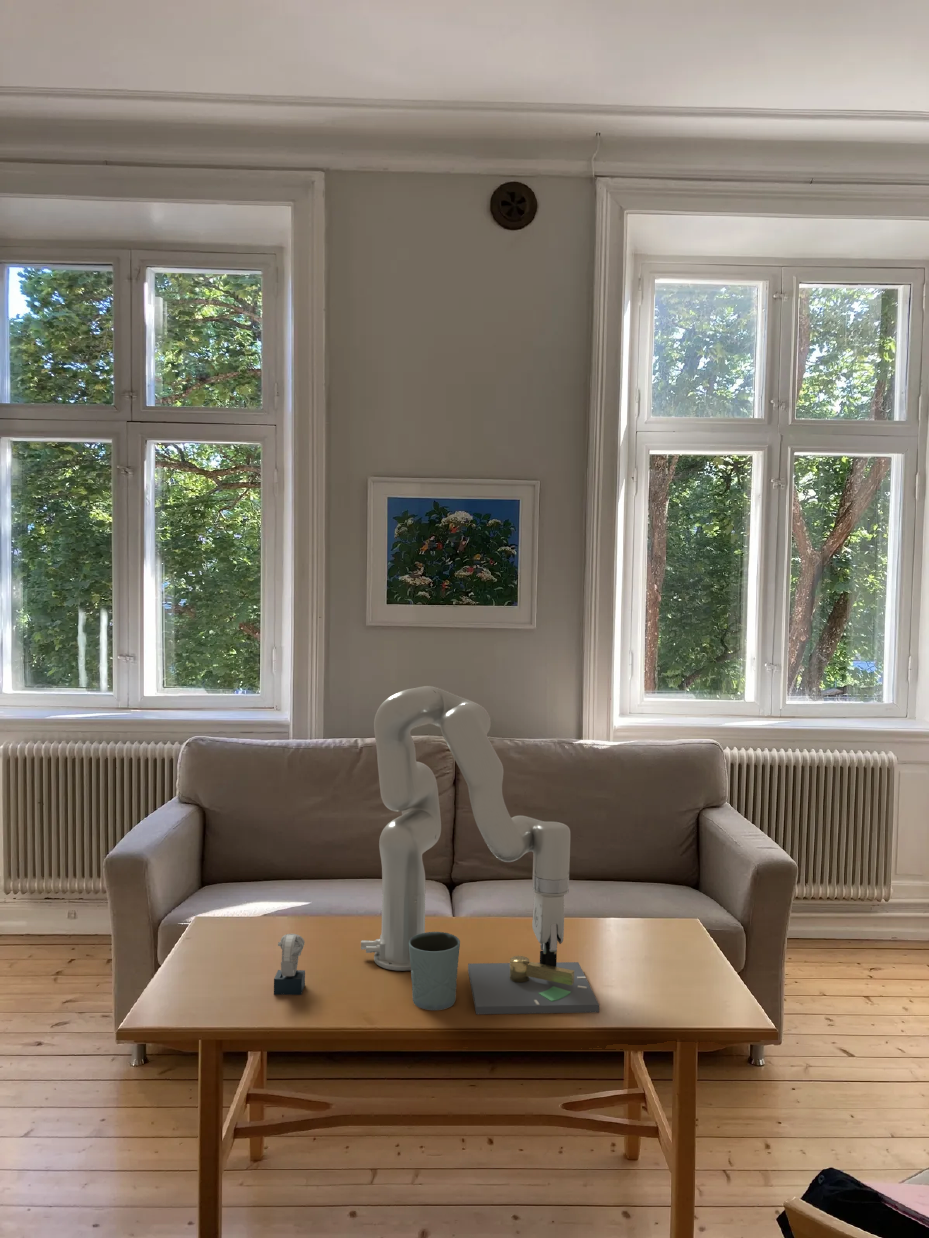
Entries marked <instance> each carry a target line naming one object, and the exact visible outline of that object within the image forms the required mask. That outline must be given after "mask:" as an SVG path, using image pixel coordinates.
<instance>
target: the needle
mask: <svg viewBox="0 0 929 1238" xmlns="http://www.w3.org/2000/svg"><path fill="white" fill-rule="evenodd" d="M509 963H510V979H511V980H512V981H515V982H526V981H528V980H529V977H534V978H539V979H544V980H548V981H553V982H558V983H563V984H568V985H572V984H573V983H574V970H569V969H564V968H559V967H554V966H549V965H544V964H539V963H540V962H533V961H530V958H528V957H526V956H523V955H513V956H512V957H510V958H509Z"/></svg>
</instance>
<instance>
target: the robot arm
mask: <svg viewBox="0 0 929 1238" xmlns="http://www.w3.org/2000/svg"><path fill="white" fill-rule="evenodd" d="M491 721H492V720H491V716H490V714H489V712H488V711H487V710H486V708H485V707H484V706H483V705H481V704H479V703H477V702H475V701H473V700H470V699H468V698H465V697H463V696H459V695H457V694H456V693H455V694H454V693H452V692H450V691H447V690H445V689H443V688H440V687H437V686H432V685H424V686H418V687H415V688H414V687H413V688H408V689H403V690H401V691H398V692H396V693H394V694H392V695H390V696H389V697H388V698H386V699H385V700H384V701H383V702H382V703H381V704H380V705H379V707H378V708H377V711H376V713H375V715H374V720H373V730H374V731H373V732H374V738H375V746H376V747H375V748H376V758H377V770H378V779H379V789H380V790H379V791H380V798H381V801H382V803H383V805H384V806H385V807H386V808H387V809H388V810H390V811H392V812H401V815H399V816H398V817H396V818H394V819H392V820H391V821H390V822H388V823H387V824H386V825H385V826H384V827H383V829H382V831H381V833H380V836H379V841H378V842H379V843H378V846H379V847H378V848H379V855H380V861H381V878H382V880H381V882H382V883H381V934H380V935H379V938H375V940H369V939H366V940H365V939H363V940H362V939H361V940H360V950H361V951H362V950H365V953H367V954H368V953H369V954H371V953H372V954H373V953H374V954H373V961H374V963H375V964H376V965H378V966H379V967H380V968H383V969H385V970H390V971H398V972H400V971H401V972H402V971H403V972H407V971H412V969H411V964H410V953H409V940H410V939H411V938H412V937H413V936H415V935H417V934H421V933H426V926H425V925H426V871H425V865H424V860H423V854H424V853H426V851H428V850H430V849H431V848H432V847H434V846H435V845H436V844H437V843H438V841H439V839H440V837H441V834H442V833H441V832H442V820H441V808H440V799H439V798H440V797H439V788H438V782H437V779H436V776H435V774H434V772H433V770H432V769H431V768H430V767H429V766H428V765H427V764H425V763H423V762H420V761H417V754H416V752H417V751H416V745H415V742H414V740H413V736H412V735H411V731H412V730H413V729H416V728H419V727H422V726H426V725H429V724H430V725H433V726H436V727H437V728H440V731H441V735H442V737H443V739H444V741H445V743H446V745H447V747H448V748H449V752H450V753H451V754H452V757H453V759H454V760H455V762H456V765H457V766H458V768H459V770H460V772H461V774H462V776H463V778H464V781H465V782H466V784H467V788H468V795H469V801H470V805H471V806H470V807H471V810H472V814H473V818H474V820H475V824H476V826H477V828H478V830H479V832H480V834H481V836H482V838H483V840H484V843H485V844H486V846H487V848H488V849H489V851H490V852H491V854H492V855H494V856H493V857H495V858H497V860H499V861H501V862H504V863H512V862H515V861H518V860H520V859H521V858H522V857H523V856H524V855H525V854H528V853H530V852H532V853H533V854H532V855H533V856H532V857H533V858H532V885H531V887H532V888H531V889H532V892H533V893H534V899H533V911H532V922H531V925H532V927H531V928H532V931H533V934H534V935H535V937H536V940H537V941H538V943H539V944H540V945H539V946H540V950H539V963H540V964H544V965H549V966H554V967H556V962H557V959H558V958H557V957H558V955H557V953H558V944H559V945H561V944H562V943H563V941H564V934H565V896H566V895H567V894H568V893H569V889H570V887H569V886H570V863H571V862H570V860H571V858H570V857H571V829H570V827H569V826H568V825H567V824H565V823H562V822H558V821H543V820H540V819H537V818H534V817H530V816H526V815H514V816H513V817H511V815H510V813H509V811H508V809H507V805H506V802H505V800H504V795H503V782H504V766H503V763H502V761H501V759H500V758H499V755H498V754H497V752H496V750H495V748H494V746H493V744H492V743H491V741H490V739H489V737H488V733H489V732H490V730H491V725H492V724H491Z"/></svg>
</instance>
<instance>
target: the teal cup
mask: <svg viewBox="0 0 929 1238" xmlns="http://www.w3.org/2000/svg"><path fill="white" fill-rule="evenodd" d="M460 947H461V940H460V939H459V938H458V936H456V935H454V934H451V933H448V932H442V931H425V933H421V934H417V935H415V936H413V937H412V938H411V939H410V940H409V953H410V964H411V969H412V970H410V975H411V976H410V978H411V985H412V986H411V989H412V990H411V991H412V993H411V994H412V995H411V996H412V1002H413V1005H415V1006H416V1007H418V1008H419V1009H423V1010H427V1011H441V1010H446V1009H449V1008H451V1007H453V1006H454V1004H455V1002H456V1001H457V1000H456V998H457V985H458V983H457V979H458V970H459V969H458V967H459V957H460Z"/></svg>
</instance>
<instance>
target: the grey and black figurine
mask: <svg viewBox="0 0 929 1238" xmlns="http://www.w3.org/2000/svg"><path fill="white" fill-rule="evenodd" d="M304 946H305V939H304V938H303V937H302V936H301V935H299V934H296V933H288V934H287V933H286V934H284V935H282V937H281V938H280V942H279V941H278V943H277V947H280V949H281V962H280V969H278V970H277V972H276V974H275V976H274V978H273V995H274V996H275V995H276V996H277V995H278V996H279V995H281V996H282V995H284V996H285V995H288V996H289V995H290V996H292V995H296V996H300V995H301V996H302V995H303V991H304V989H305V986H306V970H305V969H298V963H299V957H300V956H301V954H302V951H303V949H304Z"/></svg>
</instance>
